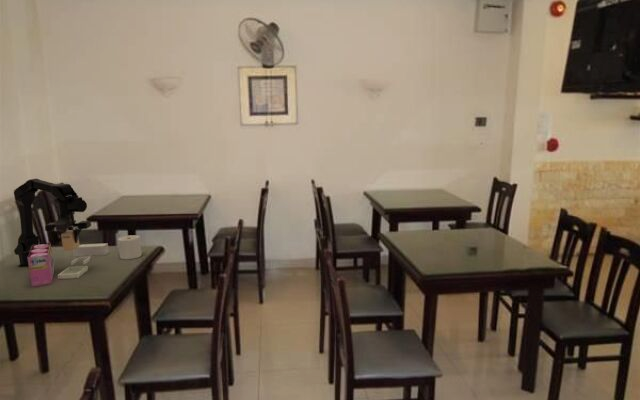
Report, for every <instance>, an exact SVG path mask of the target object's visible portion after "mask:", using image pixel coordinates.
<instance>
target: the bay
mask: <svg viewBox="0 0 640 400" xmlns="http://www.w3.org/2000/svg"><path fill="white" fill-rule="evenodd" d="M72 253H73V254H72V255H73V257H75V258H74V259H73V260H72V261H71V262H70V266H73V265H74V264H76V263H77V262H78V261H82V266H86V264H87V263H89V262H90V261H91V260H92V257H93V255H98V256H106V255H107V254H108V253H110V251H109V244H108V242H107V243H87V244H80V246H79V247H77V248H76V249H74V250H72Z"/></svg>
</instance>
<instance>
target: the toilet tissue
mask: <svg viewBox="0 0 640 400" xmlns="http://www.w3.org/2000/svg"><path fill="white" fill-rule="evenodd" d="M117 242H118V243H117V245H118V251H119V252H118V253H119V259H120V260H133V259H137V258H140V257H141V256H142V253H143V252H142V244H141V236H140V235H137V234H136V235H134V234H133V235H124V236H121V235H119V236H118V237H117Z"/></svg>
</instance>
